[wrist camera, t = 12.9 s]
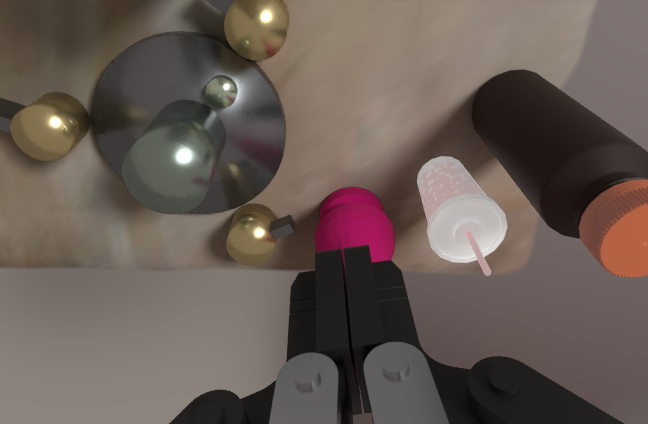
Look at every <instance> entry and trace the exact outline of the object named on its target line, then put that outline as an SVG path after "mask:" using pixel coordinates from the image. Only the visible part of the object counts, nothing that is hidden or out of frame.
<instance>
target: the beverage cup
mask: <svg viewBox="0 0 648 424" xmlns="http://www.w3.org/2000/svg"><path fill="white" fill-rule="evenodd" d="M417 184H418V188H419V192H420V195H421V199H422V203H423V207H424V211H425V215H426V218H427V222H428V228H427V234H428V238H429V241H430V245H431V248H432V249H433V250H434V251H435V252H436V253H437V254H438V255H439V256H440V257H441V258H443V259H446V260H448V261H451V262H464V263H468V262H471V261H475V260H478V262H479V264H480V266H481V268H482V270H483V272H484V274H485V275H486V276H488V275H490V274H491V270H490V268H489V266H488V264H487V262H486V260H485V258H484V257H485V256H487V255H488V254H490V253H491V252H493V251H494V250H495V249H496V248H497V247H498V246H499V244H500V243H501V242H502V241H503V239H504V236H505V233H506V230H507V222H506V217H505V214H504V212H503V211H502V210H501V208H500V207H499V206H498V205H497V204H496V202H495V201H494V200H493V199H490V198H488V197H487V196H486V194H485V193H484V192H483V190H482V189H481V188H480V187H479V185H478V184H477V183H476V181H475V180H474V179H473V178H472V176H471V175H470V174H469V172H468V171H467V170H466V169H465V167H464V166H463V165H462V164H461V163H460V161H459V160H457V159H455V158H452V157H445V156H440V157H437V158H434V159H431V160H430V161H429V162H427V163H426V164H425V165H423V167H422V168H421V170H420V171H419V173H418V178H417Z"/></svg>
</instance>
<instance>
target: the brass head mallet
mask: <svg viewBox="0 0 648 424" xmlns="http://www.w3.org/2000/svg"><path fill="white" fill-rule="evenodd" d="M89 128H90V119H89V115H88V113H87V111H86V109H85V108H84V106H83V105H82V104H81V103H80V102H79V101H78V100H76V99H75V98H73V97H72V96H70V95H67V94H65V93H60V92H51V93H48V94H45V95H44V96H42V97H41V98H39V99H38V100H36V101H35V102H33V103H32V104H30V105H28V106H24V105H21V104H18V103H15V102H12V101H9V100H6V99H2V98H0V130H1V131H4V132H7V133H11V135H12V137H13V140H14V141H15V143H16V144H17V146H18V147H19V148H20V149H21V150H22V151H23V152H25V153H26V154H27V155H29V156H31V157H33V158H35V159H38V160H41V161H55V160H58V159H61V158H62V157H64V156H65V155H66V154H67V153H68V152H69V151H70V150H71V149H72V148H73V147H74V146H75V145H76V144H77V143H78V142H79V141H80V140H81V139H82V138H83V137H84V136H85V135H86V134H87V133H88V131H89Z"/></svg>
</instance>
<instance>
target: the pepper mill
mask: <svg viewBox="0 0 648 424" xmlns="http://www.w3.org/2000/svg"><path fill="white" fill-rule="evenodd" d="M368 244H369V248H370V254H371V260H372V262H379V261H386V260H391V259H392V256H393V253H394V248H395V235H394V229H393V226H392V223H391V222H390V220H389V218H388V217H387V216H386V215H385V214H384V211H383V207H382V204H381V202H380V200H379V199H378V198H377V197H376V196H375V195H374V194H373V193H372V192H370V191H368V190H366V189H362V188H357V187H348V188H343V189H340V190H338V191H336V192H334V193H332V194H331V195H330V196H328V197H327V199H326V200H325V201H324V202H323V204H322V206H321V209H320V222H319V224H318V226H317V229H316V232H315V246H316V251H317V252H320V251H327V250H334V249H341V250H342V255H343V260H344V252H343V248H347V247H354V246H361V245H368ZM344 266H345V263H344Z"/></svg>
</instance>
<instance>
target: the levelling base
mask: <svg viewBox="0 0 648 424" xmlns="http://www.w3.org/2000/svg"><path fill="white" fill-rule="evenodd" d="M206 1H207V2H209V3H210V4H212V5H213V6H215V7H216V8H217V9H219V10H220V11H222V12H223V13H224V14H226V15H225V19H224V31H225V35H226V38H227V41H228V42H229V44H228V43H226V42H224V41H222V40H220V39H217V38H214V37H212V36H209V35H205V34H200V33H195V32H183V31H178V32H166V33H161V34H156V35H153V36H150V37H147V38H145V39H142V40H140V41H139V42H137V43H135V44H133V45H132V46H130V47H129V48H127V49H126V50H125V51H123V52H122V53H121V54H120V55H118V56H117V57H116V58H115V59H114V60H113V61H112V62H111V63H110V64H109V65H108V67H107V68H106V70H105V71H104V73H103V74H102V76H101V78H100V80H99V83H98V85H97V87H96V91H95V95H94V99H93V109H92V113H93V125H94V130H95V135H96V138H97V141H98V144H99V146H100V148H101V151H102V153H103V155H104V157H105V158H106V160H107V161H108V163H109V165H110V166H111V167H112V169H113V170H114V171H115V172H116V174H117V175H118V176H119V177H120V178H121V179H122V180H123V181H124V183H125V186H126V188H127V189H128V191H129V192H130V194H131V195H132V196H133V197H134V198H135V199H136V200H137V201H138V202H139V203H141V204H142V205H143V206H145V207H147V208H149V209H151V210H153V211H156V212H160V213H164V214H180V213H185V212H186V213H195V214H209V213H218V212H224V211H227V210H231V209H234V208H236V207H239V206H241V205H243V204H245V203H247V202H248V201H250V200H252V199H253V198H255V197H256V196H257V195H258V194H260V193H261V192H262V191H263V190H264V189H265V188H266V187H267V186H268V184H269V183H270V182H271V180H272V179H273V177H274V176H275V174H276V172H277V170H278V168H279V166H280V163H281V160H282V157H283V152H284V146H285V138H286V124H285V115H284V111H283V107H282V104H281V101H280V99H279V96H278V93H277V92H276V90H275V88H274V86H273V84H272V82H271V81H270V80H269V78H268V77H267V75H266V74H265V73H264V71H263V70H262V69H261V68H260V67H259V66H258V65H257V64H256V63H255V62H254V61H253V60H265V59H268V58H270V57H272V56H274V55H275V54H276V53H277V52H278V51H279V50H280V49H281V47H282V46H283V44H284V42H285V38H286V34H287V30H288V25H289V14H288V10H287V7H286V5H285V3H284V1H283V0H206ZM294 231H295V222H294V220H293V218H292V217H291V215H288V216H285V217H283V218H280V219H278V220H277V219H276V216H275V215H274V213H273V212H272V211H271V210H270V209H269V208H267V207H265V206H263V205H260V204H247V205H244V206H242V207H240V208H239V209H238V210H237V211H236V212H235V213H234V215H233V219H232V223H231V226H230V230H229V234H228V238H227V241H226V248H227V251H228V253H229V255H230V256H231V257H232V258H233V259H234V260H235V261H237V262H239V263H241V264H244V265H251V266H253V265H259V264H262V263H265V262H266V261H268V260H269V259H270V258H271V256H272V255H273V253H274V248H275V240H276V239H278V238H281V237H284V236H286V235H289V234H291V233H294Z"/></svg>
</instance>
